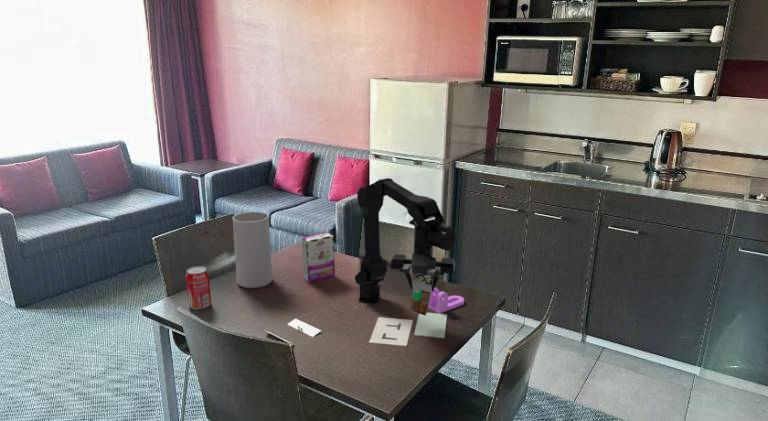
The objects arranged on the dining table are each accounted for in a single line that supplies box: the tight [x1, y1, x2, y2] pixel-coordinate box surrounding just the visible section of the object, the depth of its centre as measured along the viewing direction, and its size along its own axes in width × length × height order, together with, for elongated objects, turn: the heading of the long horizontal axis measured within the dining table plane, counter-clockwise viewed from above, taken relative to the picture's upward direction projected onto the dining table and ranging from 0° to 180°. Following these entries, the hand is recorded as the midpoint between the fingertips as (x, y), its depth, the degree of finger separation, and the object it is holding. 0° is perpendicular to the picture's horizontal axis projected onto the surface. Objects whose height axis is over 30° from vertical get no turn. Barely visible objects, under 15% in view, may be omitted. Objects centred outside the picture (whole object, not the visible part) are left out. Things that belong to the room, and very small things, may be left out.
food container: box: [410, 271, 435, 316], centre depth 164 cm, size 12×6×10 cm, turn 169°
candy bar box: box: [301, 232, 336, 284], centre depth 201 cm, size 11×5×16 cm, turn 123°
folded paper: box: [264, 318, 322, 346], centre depth 163 cm, size 12×12×2 cm
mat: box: [413, 312, 448, 339], centre depth 169 cm, size 9×15×1 cm, turn 171°
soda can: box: [185, 265, 212, 311], centre depth 178 cm, size 7×7×13 cm
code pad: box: [368, 316, 414, 347], centre depth 165 cm, size 11×16×1 cm
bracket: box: [428, 287, 465, 314], centre depth 182 cm, size 13×6×7 cm, turn 127°
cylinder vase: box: [232, 211, 273, 289], centre depth 196 cm, size 12×12×25 cm
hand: (422, 290), depth 165 cm, fingers closed on food container, 6 cm apart
